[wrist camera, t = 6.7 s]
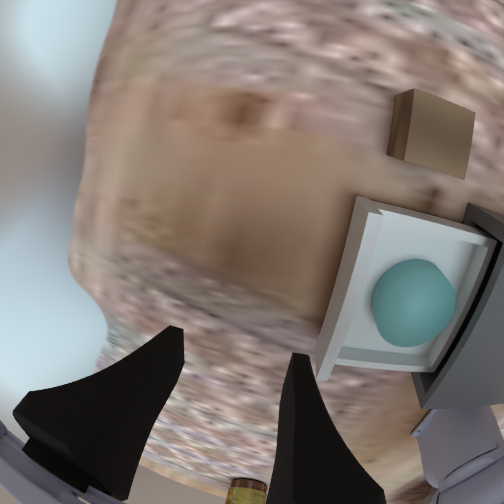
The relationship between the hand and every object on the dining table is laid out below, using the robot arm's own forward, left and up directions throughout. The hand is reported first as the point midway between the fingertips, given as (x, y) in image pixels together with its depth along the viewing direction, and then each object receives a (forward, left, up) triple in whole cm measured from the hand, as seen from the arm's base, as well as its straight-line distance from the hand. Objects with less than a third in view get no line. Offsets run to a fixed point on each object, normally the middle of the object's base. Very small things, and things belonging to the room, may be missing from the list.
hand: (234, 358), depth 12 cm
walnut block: (+10, -8, -10) cm, 17 cm away
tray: (0, -10, -9) cm, 13 cm away
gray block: (0, -19, -10) cm, 21 cm away
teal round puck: (0, -10, -8) cm, 13 cm away
